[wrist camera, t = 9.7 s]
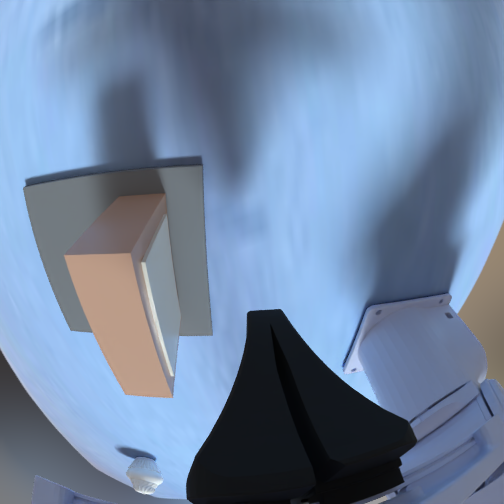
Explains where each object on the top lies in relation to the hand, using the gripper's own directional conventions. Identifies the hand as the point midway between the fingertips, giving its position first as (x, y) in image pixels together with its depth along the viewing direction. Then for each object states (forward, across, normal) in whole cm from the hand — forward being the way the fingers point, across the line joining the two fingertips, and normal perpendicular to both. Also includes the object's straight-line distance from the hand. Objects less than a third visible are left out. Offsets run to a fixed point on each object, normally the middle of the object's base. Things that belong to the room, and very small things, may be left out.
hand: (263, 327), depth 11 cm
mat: (+5, +8, 0) cm, 10 cm away
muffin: (+6, +16, +38) cm, 42 cm away
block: (+5, +6, 0) cm, 7 cm away
